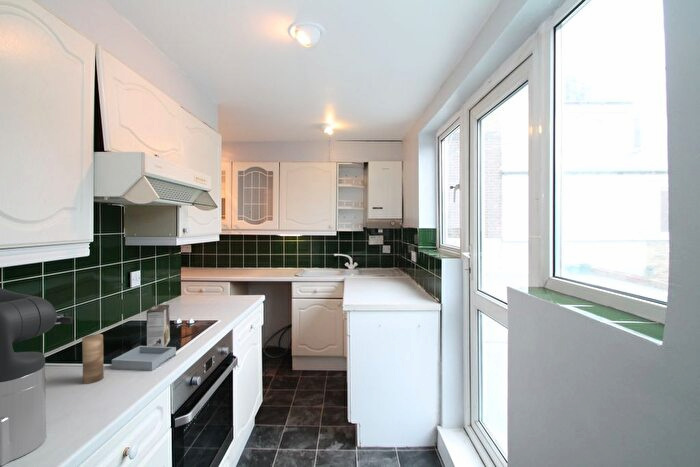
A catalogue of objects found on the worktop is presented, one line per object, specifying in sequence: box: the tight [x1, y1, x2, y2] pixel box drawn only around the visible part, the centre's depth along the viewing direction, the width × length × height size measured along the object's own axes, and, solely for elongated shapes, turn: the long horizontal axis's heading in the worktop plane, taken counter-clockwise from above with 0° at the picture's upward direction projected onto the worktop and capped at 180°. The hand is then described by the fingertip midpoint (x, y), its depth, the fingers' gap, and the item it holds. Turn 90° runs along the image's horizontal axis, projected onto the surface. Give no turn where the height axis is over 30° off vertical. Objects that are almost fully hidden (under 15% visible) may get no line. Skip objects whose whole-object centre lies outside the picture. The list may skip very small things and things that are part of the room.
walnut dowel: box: [81, 333, 105, 385], centre depth 93 cm, size 5×5×14 cm
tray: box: [111, 345, 177, 372], centre depth 105 cm, size 12×15×3 cm
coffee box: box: [146, 304, 171, 347], centre depth 119 cm, size 9×6×16 cm
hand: (57, 324), depth 93 cm, fingers open, 8 cm apart
